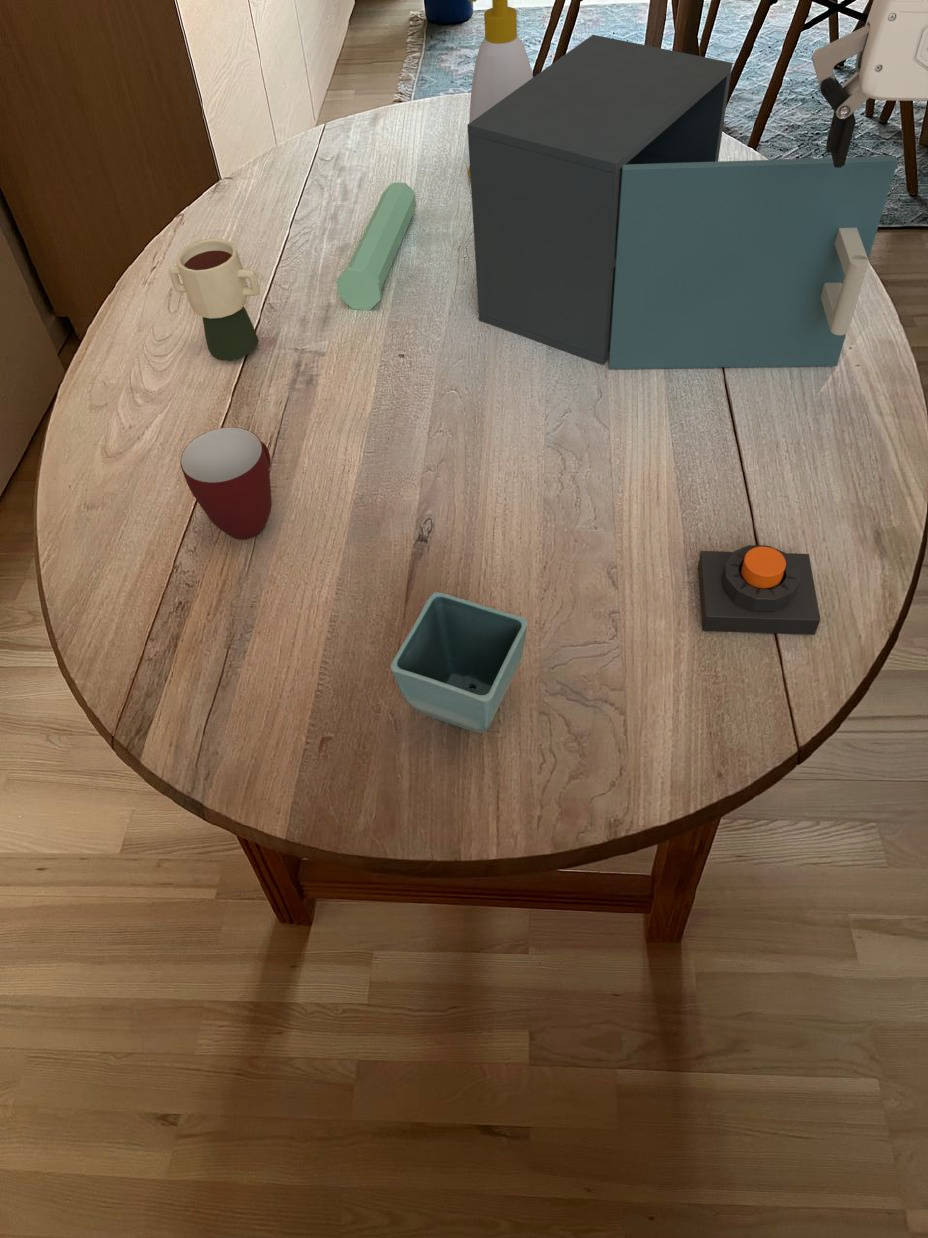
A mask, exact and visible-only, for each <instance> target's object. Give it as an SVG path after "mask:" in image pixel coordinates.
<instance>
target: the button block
mask: <svg viewBox="0 0 928 1238" xmlns="http://www.w3.org/2000/svg"><path fill="white" fill-rule="evenodd" d="M755 547H770V548H773V549H775V550H777V551H779V552H780V553H781V554H782V555H783V556H784V558H785V561H786V567H785V570H784V573H783V576H782V580H781V581H780V583H779V584H778V585H776V586H774V587H772V588H767V589H761V588H756V587H754V586H752V585H750V584H748V583H747V582H746V581H745V580H744V578H743V576H742V573H741V570H742V566H743V562H744V558H745V555H746V553H747V552H748V551H749V550H751V549H753V548H755ZM697 572H698V574H697V575H698V585H699V586H698V587H699V597H700V598H699V599H700V612H701V623H702V631H703V632H724V633H750V634H751V633H753V634H776V635H777V634H780V635H781V634H782V635H807V636H808V635H809V636H810V635H811V636H815V635H816V633H817V630H818V628H819V625H820V622H821V615H820V614H821V613H820V608H819V603H818V597H817V592H816V587H815V580H814V574H813V569H812V564H811V558H810V554H809V553H799V552H798V553H796V552H795V553H793V552H785V551H782V550H780V549H778V548H775V547H772V546H771V545H764V544H763V545H761V544H760V545H758V544H749V545H746V546H743V547H741V548H739V549H736V550H733V551H718V550H717V551H715V550H700V553H699V558H698V563H697Z"/></svg>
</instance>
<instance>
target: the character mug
mask: <svg viewBox="0 0 928 1238" xmlns="http://www.w3.org/2000/svg"><path fill="white" fill-rule="evenodd" d="M175 262H176V265H172V266H168V275H169V278H170V281H171V284H172V287H173V289H174V291H175V292H178V293H186V296H187V299H188V303H189V305H190V307H191V309H192V310H193V312H194V313H195V314H196V315H198V316H199V317H201V318H202V324H203V329H204V330H203V331H204V336H205V340H206V341H205V342H206V347H207V350H208V351H209V353H210V355H211V356H212V357H213V358H215V359H217V360H218V361H222V362H232V361H236V360H239V359H243V358H244V357H246V356H247V355H249V354H250V353H252V352H253V351H254V350H255V349H256V347H258V344H259V341H260V340H259V337H258V335H257V332H256V329H255V326H254V325H253V322H252V320H251V318H250V315H249V314H248V311H247V309H246V308H245V305H246V304H247V300H248V297H257V296H260V295H261V289H260V285H259V281H258V277H257V274H256V272H255V270H253V269H244V267H243V264H242V262H241V258H240V254H239V253H238V250H237V248H236V246H235V244H234V243H232V242H231V241H229V240H228V239H223V238H217V237H216V238H212V237H211V238H205V239H201V240H198V241H194V242H192V243H190V244H188V245H187V246H184V247H183V248H182V249H181V250H180V251H179V252H178V253H177V255H176V258H175ZM180 278H181V280H180ZM247 279H248V282H249V286H248V282H247Z"/></svg>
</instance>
